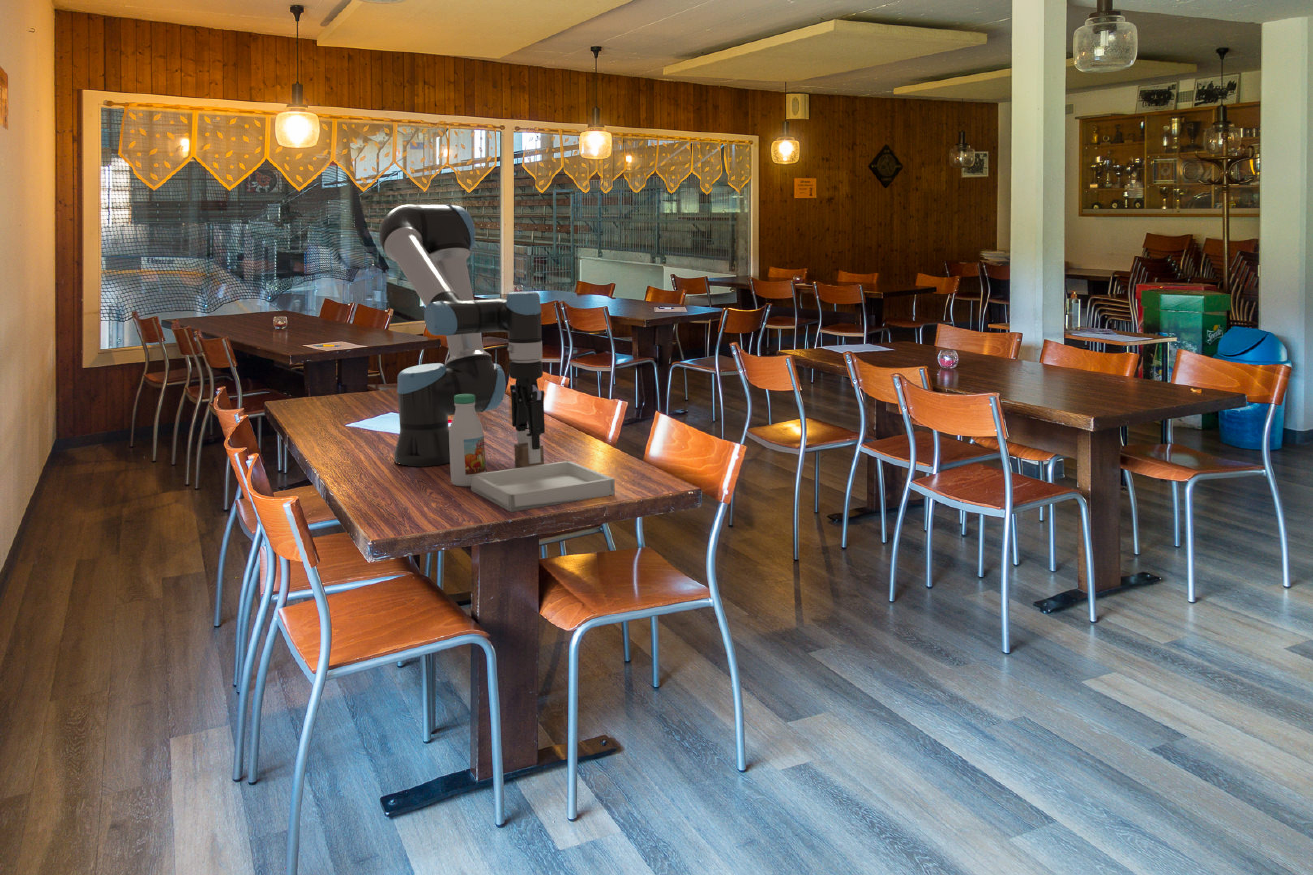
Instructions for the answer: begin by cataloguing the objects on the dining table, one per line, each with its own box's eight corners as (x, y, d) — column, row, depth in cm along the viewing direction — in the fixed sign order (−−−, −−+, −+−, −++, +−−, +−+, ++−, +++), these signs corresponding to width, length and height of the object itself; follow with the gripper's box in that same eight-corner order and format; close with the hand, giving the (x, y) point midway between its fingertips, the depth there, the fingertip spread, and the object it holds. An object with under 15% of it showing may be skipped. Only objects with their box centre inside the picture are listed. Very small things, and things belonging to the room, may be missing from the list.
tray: (471, 490, 218) (470, 474, 218) (569, 475, 231) (569, 460, 230) (510, 512, 201) (510, 495, 200) (614, 494, 213) (614, 478, 213)
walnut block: (515, 473, 233) (514, 444, 232) (535, 470, 236) (533, 441, 235) (524, 477, 229) (523, 448, 228) (544, 474, 232) (543, 445, 230)
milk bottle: (452, 488, 220) (447, 398, 216) (449, 480, 227) (445, 393, 223) (487, 485, 222) (484, 396, 218) (484, 477, 229) (480, 391, 225)
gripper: (494, 357, 233) (498, 455, 238) (527, 365, 218) (531, 470, 223) (524, 355, 237) (527, 451, 241) (558, 363, 222) (561, 465, 226)
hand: (529, 460), depth 232 cm, fingers closed on walnut block, 5 cm apart
